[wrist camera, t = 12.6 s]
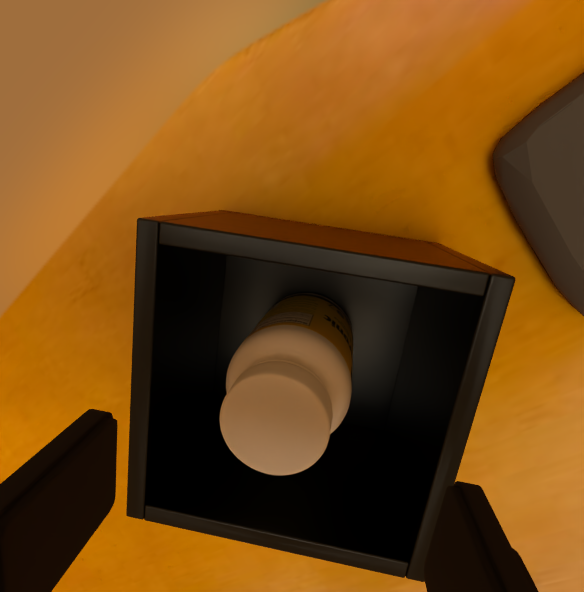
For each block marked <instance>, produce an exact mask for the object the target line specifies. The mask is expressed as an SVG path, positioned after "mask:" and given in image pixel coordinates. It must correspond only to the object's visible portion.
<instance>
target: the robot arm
mask: <svg viewBox="0 0 584 592" xmlns="http://www.w3.org/2000/svg"><path fill="white" fill-rule="evenodd" d="M116 454H117V420H116V419H113V416H112V414H111V413H110V412H105V411H100V410H95V409H89V410H88V411H86V412H85V413H84V414H83V415H82V416H80V417H79V418H78V419H77V420H76V421H74V422H73V423H72V424H71V425H70V426H69V427H67V428H66V429H65V430H64V431H63V432H61V433H60V434H59V435H58V436H57V437H56V438H54V439H53V440H52V441H51V442H50V443H48V444H47V445H46V446H45V447H44V448H43V449H41V450H40V451H39V452H38V453H37V454H35V455H34V456H33V457H32V458H31V459H30V460H28V461H27V462H26V463H25V464H24V465H22V466H21V467H20V468H19V469H18V470H16V471H15V472H14V473H13V474H12V475H11V476H9V477H8V478H7V479H6V480H5V481H3V482H2V483H1V484H0V592H51V591H52V590H53V588H54V587H55V586H56V584H57V583H58V582H59V580H60V579H61V577H62V576H63V575H64V573H65V572H66V571H67V569H68V568H69V566H70V565H71V564H72V562H73V561H74V560H75V558H76V557H77V555H78V554H79V553H80V551H81V550H82V549H83V547H84V546H85V545H86V543H87V542H88V540H89V539H90V538H91V536H92V535H93V534H94V532H95V531H96V529H97V528H98V527H99V525H100V524H101V523H102V521H103V520H104V518H105V517H106V516H107V514H108V513H109V512H110V510H111V508H112V506H113V504H114V501H115V492H116ZM424 579H425V584H426V588H427V592H538V590H537V588H536V586H535V584H534V582H533V580H532V578H531V576H530V574H529V572H528V570H527V568H526V566H525V565H524V563H523V561H522V559H521V557H520V556H519V554H518V552H517V551H515V550H514V549H513V548H511V546H510V544H509V542H508V540H507V538H506V536H505V534H504V532H503V530H502V528H501V526H500V524H499V522H498V520H497V518H496V516H495V514H494V512H493V510H492V508H491V506H490V504H489V502H488V500H487V498H486V496H485V494H484V492H483V490H482V488H481V487H480V486H479V485H475V484H470V483H464V482H459V481H457V482H455V483H454V486H448V487H447V489H446V492H445V495H444V499H443V502H442V506H441V509H440V512H439V516H438V519H437V522H436V526H435V529H434V533H433V536H432V539H431V543H430V546H429V550H428V553H427V556H426V560H425V564H424Z"/></svg>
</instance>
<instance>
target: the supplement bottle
mask: <svg viewBox="0 0 584 592" xmlns="http://www.w3.org/2000/svg"><path fill="white" fill-rule="evenodd" d="M352 362H353V332H352V328H351V324H350V322H349V320H348V318H347V316H346V314H345V313H344V312H343V310H342V309H341V308H340V307H339V306H338V305H337V304H336V303H334V302H333V301H331V300H330V299H328V298H326V297H324V296H321V295H318V294H313V293H298V294H294V295H290V296H287V297H285V298H283V299H282V300H280V301H279V302H277V303H276V304H275V305H274V306H273V307H272V308H271V309H270V310H269V311H268V312H267V313H266V315H265V316H264V317H263V318H262V320H261V321H260V322H259V323H258V324H257V326H256V327H255V328H254V329H253V330H252V332H251V333H250V334H249V335H248V336H247V338H246V339H245V340H244V341H243V342H242V344H241V345H240V346H239V348H238V349H237V351H236V352H235V354H234V355H233V357H232V359H231V361H230V364H229V367H228V370H227V375H226V392H227V394H226V396H225V398H224V400H223V403H222V406H221V410H220V428H221V432H222V435H223V438H224V440H225V442H226V444H227V446H228V447H229V449H230V450H231V451H232V453H233V454H234V455H235V456H236V457H237V458H238V459H239V460H240V461H242V462H243V463H244V464H246V465H247V466H249V467H251V468H252V469H255V470H257V471H259V472H262V473H266V474H271V475H291V474H295V473H299V472H301V471H303V470H305V469H307V468H309V467H310V466H312V465H313V464H315V463H316V461H317V460H319V458H320V457H321V456H322V454H323V453H324V451H325V449H326V447H327V444H328V441H329V437H330V434H331V433H332V432H334V431H335V430H336V429H337V427H338V426H339V425H340V424H341V422H342V421H343V419H344V417H345V415H346V413H347V411H348V408H349V405H350V400H351V393H352Z"/></svg>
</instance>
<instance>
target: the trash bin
mask: <svg viewBox="0 0 584 592" xmlns="http://www.w3.org/2000/svg"><path fill="white" fill-rule="evenodd" d="M514 283H515V277H513V276H511V275H508V274H506V273H504V272H502V271H499V270H497V269H495V268H493V267H490V266H488V265H486V264H484V263H481V262H479V261H477V260H475V259H472V258H470V257H468V256H466V255H463V254H461V253H459V252H457V251H454V250H452V249H450V248H448V247H445V246H443V245H441V244H439V243H434V242H427V241H421V240H414V239H407V238H401V237H394V236H388V235H381V234H375V233H368V232H362V231H355V230H349V229H342V228H335V227H329V226H322V225H316V224H309V223H303V222H296V221H290V220H283V219H277V218H270V217H263V216H257V215H250V214H244V213H237V212H231V211H224V210H219V211H209V212H198V213H187V214H176V215H166V216H155V217H144V218H138V219H137V239H136V266H135V294H134V322H133V349H132V377H131V404H130V432H129V460H128V487H127V516H129V517H133V518H138V519H145V520H147V521H151V522H155V523H160V524H164V525H169V526H173V527H178V528H182V529H187V530H191V531H196V532H200V533H205V534H209V535H214V536H218V537H223V538H227V539H232V540H236V541H241V542H245V543H250V544H254V545H259V546H263V547H268V548H272V549H277V550H281V551H286V552H290V553H295V554H299V555H303V556H308V557H312V558H317V559H321V560H326V561H330V562H335V563H339V564H344V565H348V566H353V567H357V568H362V569H366V570H371V571H375V572H380V573H384V574H389V575H393V576H398V577H402V578H404V577H405V576H406V578H408V579H412V580H417V581H421V582H424V581H425V579H424V564H425V560H426V556H427V553H428V550H429V546H430V543H431V539H432V536H433V533H434V529H435V526H436V522H437V519H438V516H439V512H440V509H441V506H442V502H443V499H444V495H445V492H446V489H447V487H448V486H454V483H455V479H456V476H457V473H458V469H459V466H460V463H461V459H462V456H463V453H464V449H465V446H466V443H467V439H468V436H469V433H470V429H471V426H472V423H473V419H474V416H475V413H476V409H477V406H478V403H479V399H480V396H481V393H482V389H483V386H484V383H485V379H486V376H487V373H488V369H489V366H490V363H491V359H492V356H493V353H494V349H495V346H496V343H497V339H498V336H499V333H500V329H501V326H502V323H503V319H504V316H505V313H506V309H507V306H508V303H509V299H510V296H511V293H512V289H513V286H514ZM298 293H313V294H318V295H321V296H324V297H326V298H328V299H330V300H331V301H333V302H334V303H336V304H337V305H338V306H339V307H340V308H341V309H342V310H343V312H344V313H345V314H346V316H347V318H348V320H349V322H350V324H351V328H352V332H353V362H352V393H351V400H350V405H349V408H348V411H347V413H346V415H345V417H344V419H343V421H342V422H341V424H340V425H339V426H338V427H337V429H336V430H335V431H334V432H332V433H331V434H330V437H329V441H328V444H327V447H326V449H325V451H324V453H323V454H322V456H321V457H320V458H319V460H317V461H316V463H315V464H313V465H312V466H310V467H309V468H307V469H305V470H303V471H301V472H299V473H295V474H291V475H271V474H266V473H262V472H259V471H257V470H255V469H252V468H251V467H249V466H247V465H246V464H244V463H243V462H242V461H240V460H239V459H238V458H237V457H236V456H235V455H234V454H233V453H232V451H231V450H230V449H229V447H228V446H227V444H226V442H225V440H224V438H223V435H222V432H221V428H220V410H221V406H222V403H223V400H224V398H225V396H226V394H227V392H226V375H227V370H228V367H229V364H230V361H231V359H232V357H233V355H234V354H235V352H236V351H237V349H238V348H239V346H240V345H241V344H242V342H243V341H244V340H245V339H246V338H247V336H248V335H249V334H250V333H251V332H252V330H253V329H254V328H255V327H256V326H257V324H258V323H259V322H260V321H261V320H262V318H263V317H264V316H265V315H266V313H267V312H268V311H269V310H270V309H271V308H272V307H273V306H274V305H275V304H276V303H277V302H279V301H280V300H282V299H283V298H285V297H287V296H290V295H294V294H298Z"/></svg>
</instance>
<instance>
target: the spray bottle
mask: <svg viewBox="0 0 584 592" xmlns="http://www.w3.org/2000/svg"><path fill="white" fill-rule="evenodd" d="M493 162H494V169H495V176H496V178H497V180H498V183H499V185H500V187H501V189H502V191H503V194H504V196H505V198H506V200H507V202H508V204H509V207H510V209H511V211H512V213H513V215H514V218H515V220H516V221H517V223H518V225H519V226H520V228H521V230H522V231H523V233H524V235H525V236H526V238H527V240H528V241H529V243H530V245H531V246H532V248H533V250H534V251H535V253H536V255H537V256H538V258H539V260H540V261H541V263H542V265H543V266H544V268H545V270H546V271H547V273H548V275H549V276H550V278H551V280H552V281H553V283H554V285H555V286H556V288H557V289H558V290H559V291H560V292H561V293H562V295H563V296H564V297H565V298H566V299H567V300H568V301H569V303H570V304H571V305H572V306H573V307H574V308H576V309H577V310H578V311H579V312H580V313H581V314H582V315H583V316H584V73H583V74H581V75H580V76H579V77H577V78H576V79H575V80H573V81H572V82H571V83H569V84H568V85H566V86H565V87H564V88H562V89H561V90H560V91H558V92H557V93H556V94H554V95H553V96H551V97H550V98H549V99H547V100H546V101H545V102H543V103H542V104H541V105H539V106H538V107H537V108H536V109H535V110H534V111H532V112H531V113H530V114H529V115H528V116H527V117H526V118H524V119H523V120H522V121H521V122H520V123H519V124H517V125H516V126H515V127H514V128H513V129H512V130H511V131H509V132H508V133H507V134H506V135H505V136H504V137H502V138H501V140H500V141H499V143H498V145H497V147H496V149H495V151H494V153H493Z"/></svg>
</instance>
